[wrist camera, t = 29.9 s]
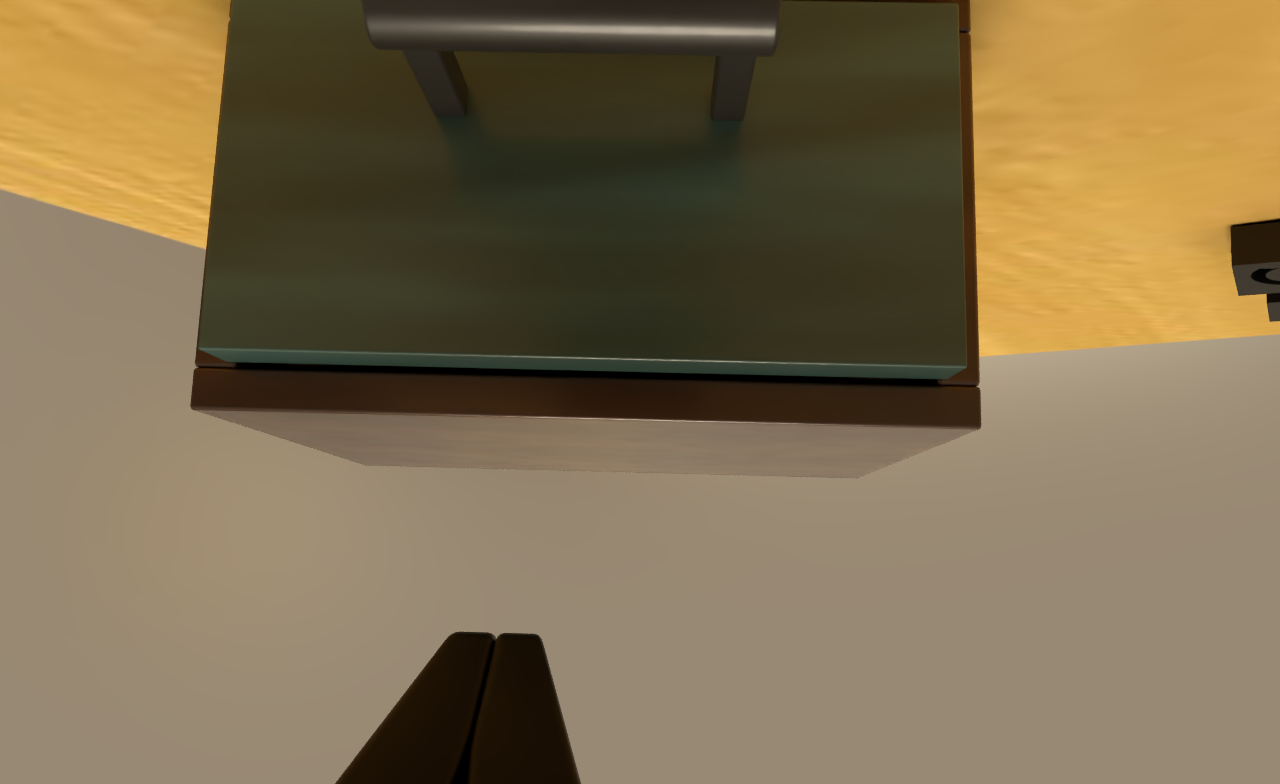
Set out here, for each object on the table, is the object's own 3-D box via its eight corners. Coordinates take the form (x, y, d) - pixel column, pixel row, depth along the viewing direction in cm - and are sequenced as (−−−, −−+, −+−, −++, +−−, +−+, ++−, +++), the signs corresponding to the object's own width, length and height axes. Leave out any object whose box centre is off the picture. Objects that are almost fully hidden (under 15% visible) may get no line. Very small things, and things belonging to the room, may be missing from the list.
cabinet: (230, -20, 20) (188, 409, 19) (971, -7, 20) (982, 429, 19) (384, 188, 32) (364, 465, 30) (856, 198, 32) (858, 478, 30)
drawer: (117, -164, 15) (62, 288, 14) (1042, -151, 15) (1060, 311, 14) (381, 190, 29) (365, 426, 28) (851, 200, 29) (852, 438, 28)
